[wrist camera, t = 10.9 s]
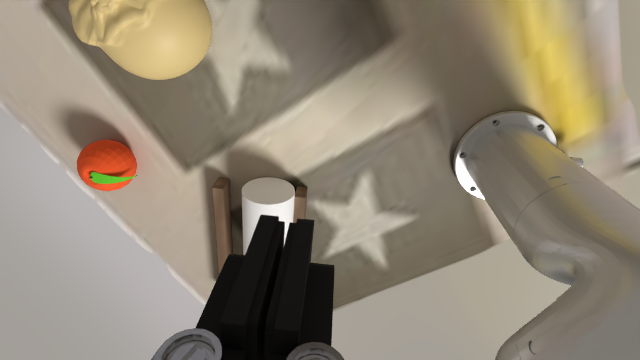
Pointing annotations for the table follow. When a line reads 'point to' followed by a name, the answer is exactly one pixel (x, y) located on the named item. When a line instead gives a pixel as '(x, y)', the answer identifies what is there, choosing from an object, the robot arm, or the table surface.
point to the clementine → (106, 165)
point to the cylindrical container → (266, 204)
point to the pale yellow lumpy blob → (146, 33)
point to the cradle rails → (224, 216)
